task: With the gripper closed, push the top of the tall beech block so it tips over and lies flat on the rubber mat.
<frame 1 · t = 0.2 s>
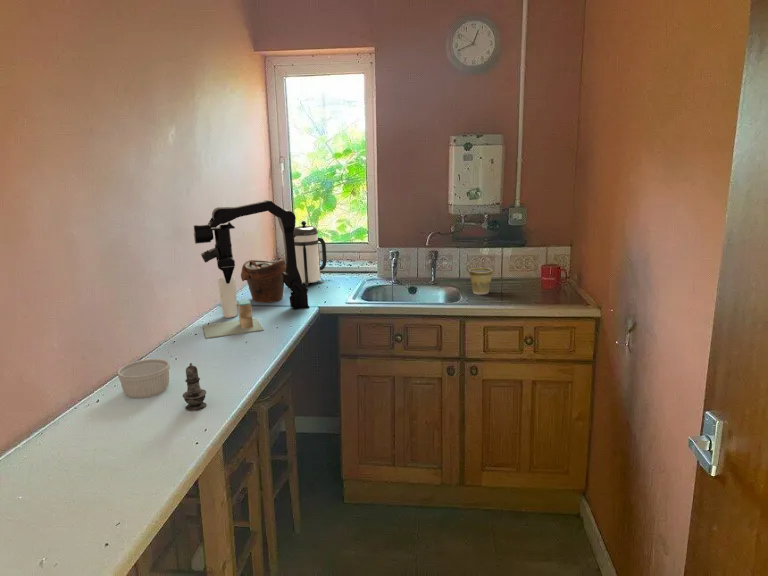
hand: (227, 280, 229), 14 cm above the worktop, tool pointing down, fingers open, 9 cm apart
beech block: (246, 325, 219), resting on rubber mat
ramekin: (146, 391, 164), on the worktop
rubber mat: (232, 328, 217), on the worktop
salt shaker: (196, 407, 152), on the worktop
brown round container: (267, 299, 257), on the worktop
coffee press: (309, 283, 285), on the worktop
ceramic cup: (482, 292, 255), on the worktop
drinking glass: (230, 316, 233), on the worktop
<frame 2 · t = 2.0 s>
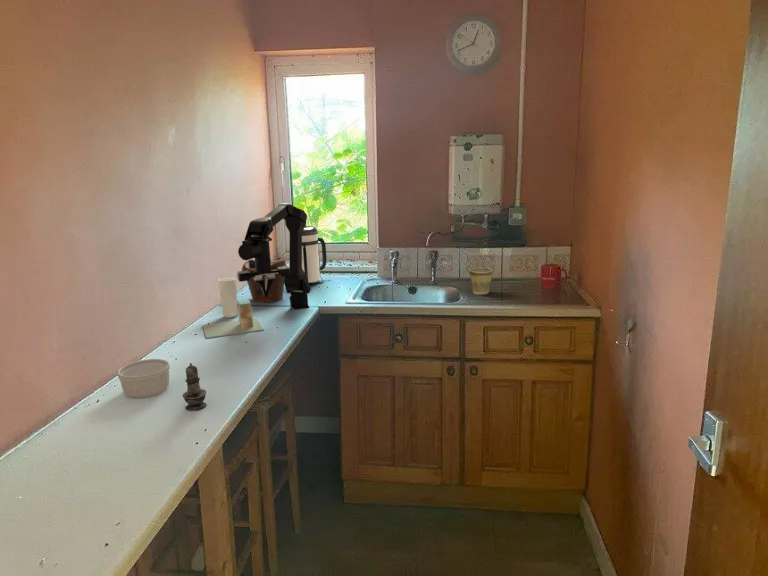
hand: (266, 296, 219), 10 cm above the worktop, tool pointing down, fingers closed
nothing on the worktop moved.
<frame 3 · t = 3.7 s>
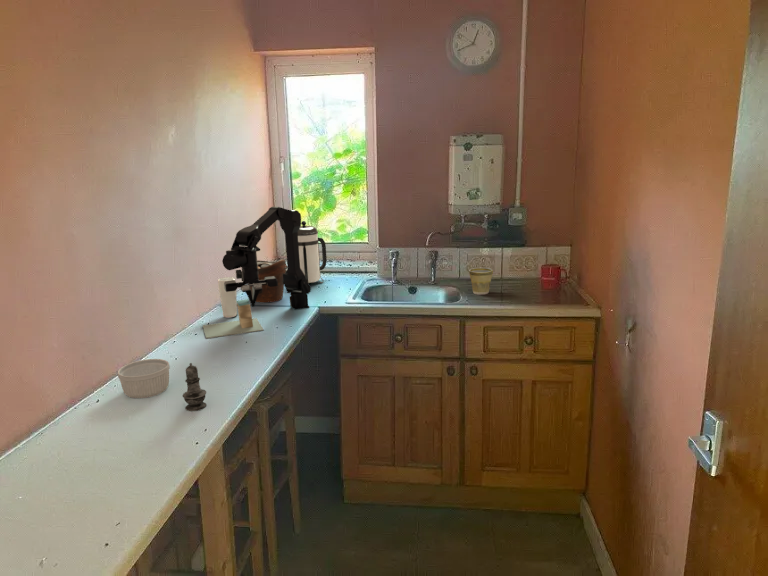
hand: (253, 306, 218), 7 cm above the worktop, tool pointing down, fingers closed
beech block: (246, 325, 219), resting on rubber mat, touching gripper
everything else where it was.
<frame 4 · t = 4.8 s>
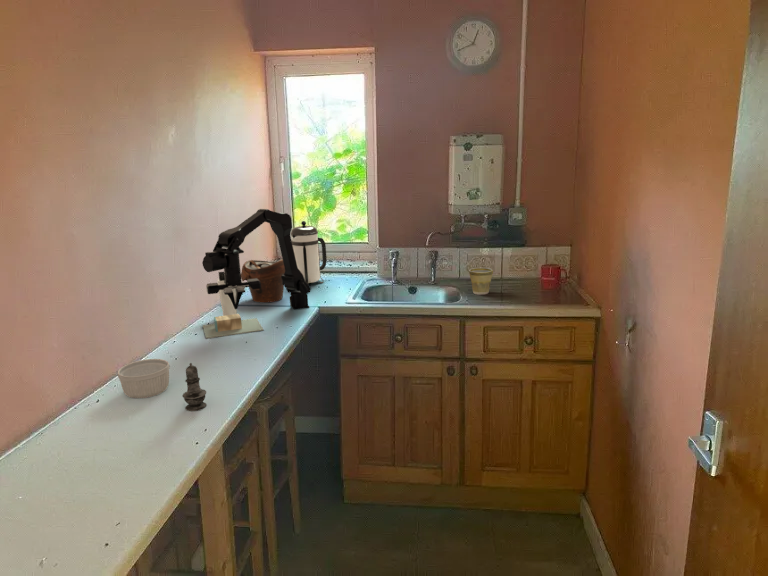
hand: (235, 309, 216), 7 cm above the worktop, tool pointing down, fingers closed
beech block: (240, 321, 218), point 2 cm above the worktop, tilted 90°, touching rubber mat
everything else where it was.
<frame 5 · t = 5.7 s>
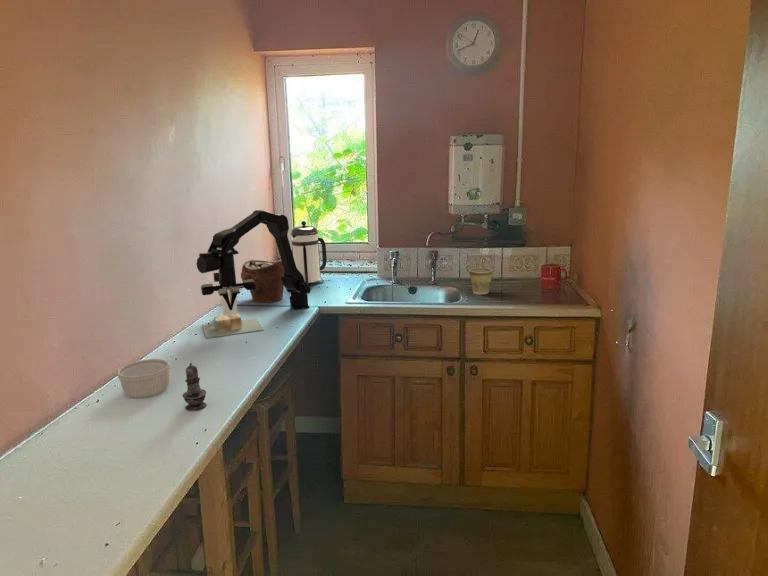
hand: (230, 310, 216), 7 cm above the worktop, tool pointing down, fingers closed
nothing on the worktop moved.
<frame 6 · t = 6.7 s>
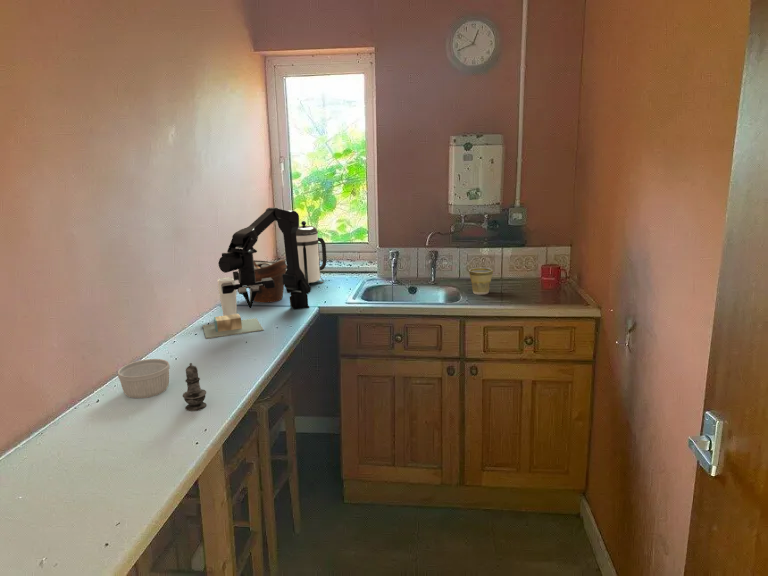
hand: (250, 308, 218), 7 cm above the worktop, tool pointing down, fingers closed
nothing on the worktop moved.
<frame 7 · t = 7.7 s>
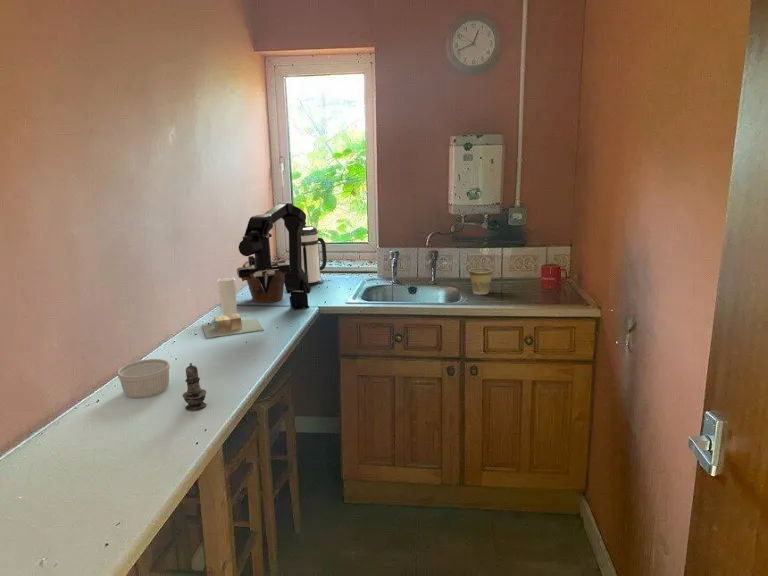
hand: (265, 293, 218), 12 cm above the worktop, tool pointing down, fingers closed
nothing on the worktop moved.
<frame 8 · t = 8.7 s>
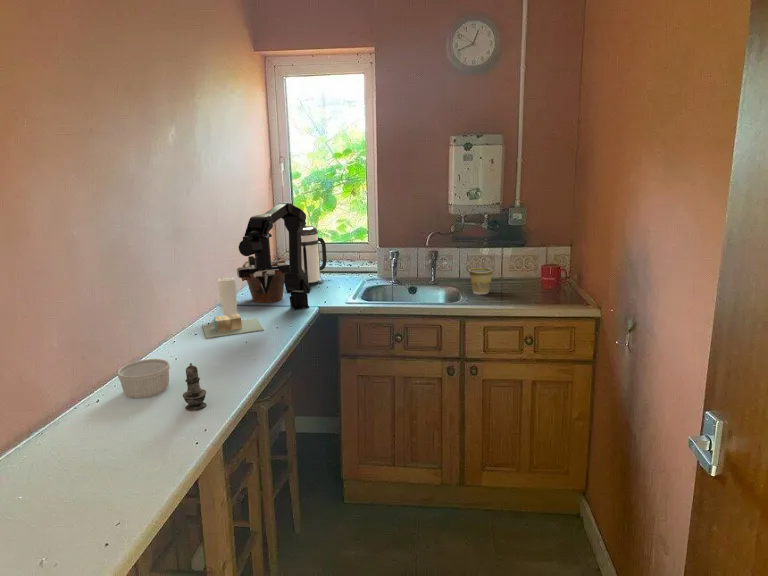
hand: (265, 293, 218), 12 cm above the worktop, tool pointing down, fingers closed
nothing on the worktop moved.
at the end: beech block tilted 90°; beech block inside the target area (3.5 cm from its centre), point 2.4 cm above the worktop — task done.
